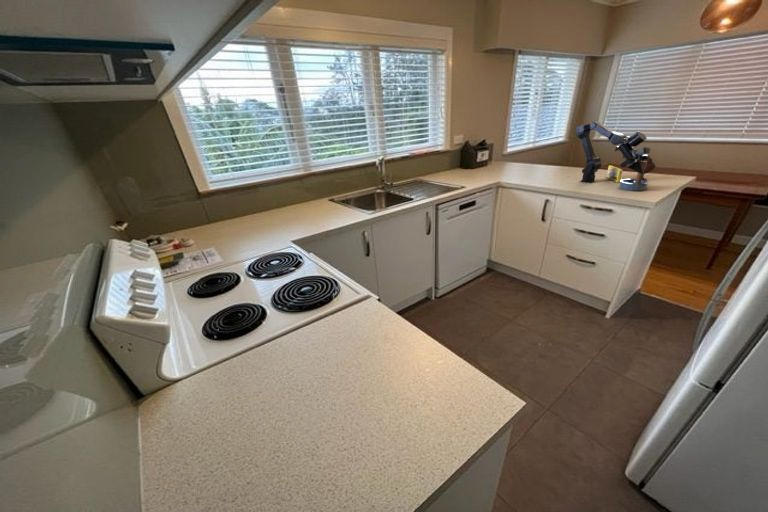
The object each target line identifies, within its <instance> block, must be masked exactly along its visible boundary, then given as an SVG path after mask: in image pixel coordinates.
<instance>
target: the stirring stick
mask: <svg viewBox="0 0 768 512" xmlns="http://www.w3.org/2000/svg"><path fill="white" fill-rule="evenodd" d="M646 163H647V161H641V164H640V167H641V169H642V171H643V173H644V170H645V167H646ZM643 173H639V172H637V175H636V178H635V179H636V181H634V182H633V183H634V184H642V183H643V182H642V181H641V180H642V177H644V176H643Z"/></svg>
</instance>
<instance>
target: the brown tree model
mask: <svg viewBox="0 0 768 512" xmlns="http://www.w3.org/2000/svg"><path fill="white" fill-rule="evenodd" d="M646 161H647V163H646V167H645V169H646V172H645V173H643V177H642V180H645V181H647V178H645V177H644V176H645V174H648V173H650V172H652V171H654V170H655V169H656V166H657V165H656V164H655V163H654V162H653V158H652V157H650V158H649V159H647V160H646Z"/></svg>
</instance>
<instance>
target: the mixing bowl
mask: <svg viewBox="0 0 768 512" xmlns="http://www.w3.org/2000/svg"><path fill="white" fill-rule="evenodd" d="M634 181H636V178H624V179H620V182H619V184H618V188H619V189H620V190H623V191H628V192H641V191H645V190H647V189H648V185H649V181H648V180H641V181H642V182H643V183H642V184H634V183H633V182H634Z"/></svg>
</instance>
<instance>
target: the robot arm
mask: <svg viewBox="0 0 768 512" xmlns="http://www.w3.org/2000/svg"><path fill="white" fill-rule="evenodd" d="M592 130H594V131H596V132H597V133H598V134H601V136H602V135H603V136H604V137H606V138H607V140H608V141H609V142H610V144H612V145H614V146H615V149H614V152H620V153H621V155H622V159H625V160H624V161H623V162H621V163H620V167H621V169H625V168H627V169H630V170H632V171H635V172H637V173H638V172H639V173H643V171H642V169H641V167H640V164H641V161H646V160H647V159H649V158H651V156H650V155H649V154H650V153H651V150H652V149H651V148H650V147H649V146H645V147H642V148H641V149H635V148H634V147H638V146H639V145H640V144H642V143H643V142H645V141H646V140H647V139H648V138H647V136H646V134H645V133H643V132H641V131H639V130H638V131H635V132H634V133H633V134H632V135H630V136H628V135H626V134H625V133H622V132H617V131H614V130H613V129H611V128H609V127H608V126H605V125H604V124H602V123H601V122H600V121H593V122H590V123H588V124H582V125H578V126H576V128H575V129H574V133H575V135H576V136H577V138H579V140H580V141H581V145H582V148H583V151H584V155H585V157H586V161H585V167H583V169H581V172H582V177H581V180H580V182H581V183H587V184H588V183H594V182H596V180H595V179H596V173H597V172H598V171H599V170H600V169H601V167H602V164H603V162H602V160H601V157H597V156H596V154H595V151H594V147H593V145H592V142H591V138H590V135H591V131H592ZM645 172H646V169H645V170H644V173H645Z"/></svg>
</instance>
